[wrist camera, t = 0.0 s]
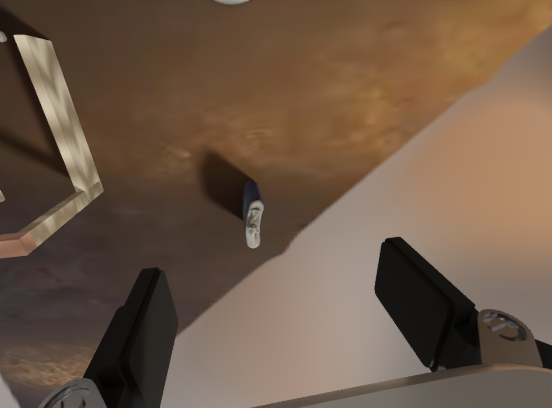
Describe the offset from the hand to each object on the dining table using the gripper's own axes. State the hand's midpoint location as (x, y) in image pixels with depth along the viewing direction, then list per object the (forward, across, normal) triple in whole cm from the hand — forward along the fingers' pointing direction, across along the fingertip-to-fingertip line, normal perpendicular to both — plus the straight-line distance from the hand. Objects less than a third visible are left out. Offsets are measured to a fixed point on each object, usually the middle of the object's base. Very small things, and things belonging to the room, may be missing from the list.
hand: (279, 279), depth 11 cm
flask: (+37, 0, +13) cm, 39 cm away
